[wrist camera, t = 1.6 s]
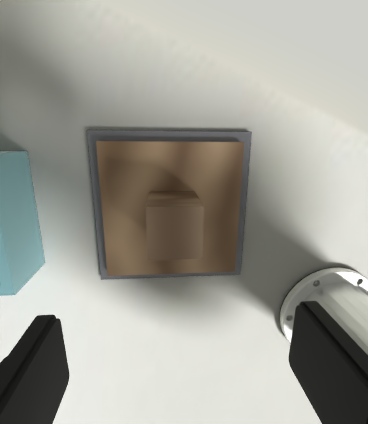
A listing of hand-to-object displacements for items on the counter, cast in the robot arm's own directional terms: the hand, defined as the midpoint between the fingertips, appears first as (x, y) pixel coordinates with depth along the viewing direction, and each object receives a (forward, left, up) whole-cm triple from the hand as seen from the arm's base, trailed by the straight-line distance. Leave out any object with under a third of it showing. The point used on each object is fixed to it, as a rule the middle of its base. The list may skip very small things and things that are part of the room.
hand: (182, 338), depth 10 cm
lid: (0, 0, -18) cm, 18 cm away
